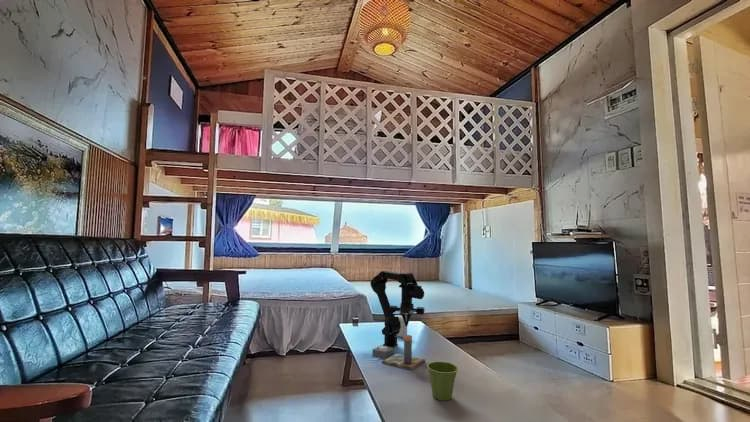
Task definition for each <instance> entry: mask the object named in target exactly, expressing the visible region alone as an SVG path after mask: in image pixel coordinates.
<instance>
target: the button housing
mask: <svg viewBox="0 0 750 422" xmlns="http://www.w3.org/2000/svg"><path fill="white" fill-rule="evenodd" d="M380 346H381V345H379V346H376V347H375V348H373V349H372V356H374V357H378V358H382V359H387V358H389V357H391V356H392V355H394V354H395V347H388V346H387V347H388V350H386V351H383V350H379V347H380Z"/></svg>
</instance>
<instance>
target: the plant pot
mask: <svg viewBox="0 0 750 422" xmlns="http://www.w3.org/2000/svg"><path fill="white" fill-rule="evenodd" d="M426 367H427V369H428V373H429V378H430V385H431V392H432V393H431V394H432V397H433V398H434V399H437V400H439V401H445V402H446V401H449V400H450V399H452V397H453V392H454V388H455V387H454V385H455V382H456V381H455V379H456V376H457V373H458V372H459V367H458V366H457V365H455V364H454V363H451V362H447V361H432V362H429V363H427V365H426Z"/></svg>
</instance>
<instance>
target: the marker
mask: <svg viewBox="0 0 750 422" xmlns="http://www.w3.org/2000/svg"><path fill="white" fill-rule="evenodd" d="M412 343H413V335H411V334H407V335H404V338H403V355H404V364H407V365H410V364H412V357H413V355H412V352H413V351H412V350H413V348H412V347H413V344H412Z"/></svg>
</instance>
